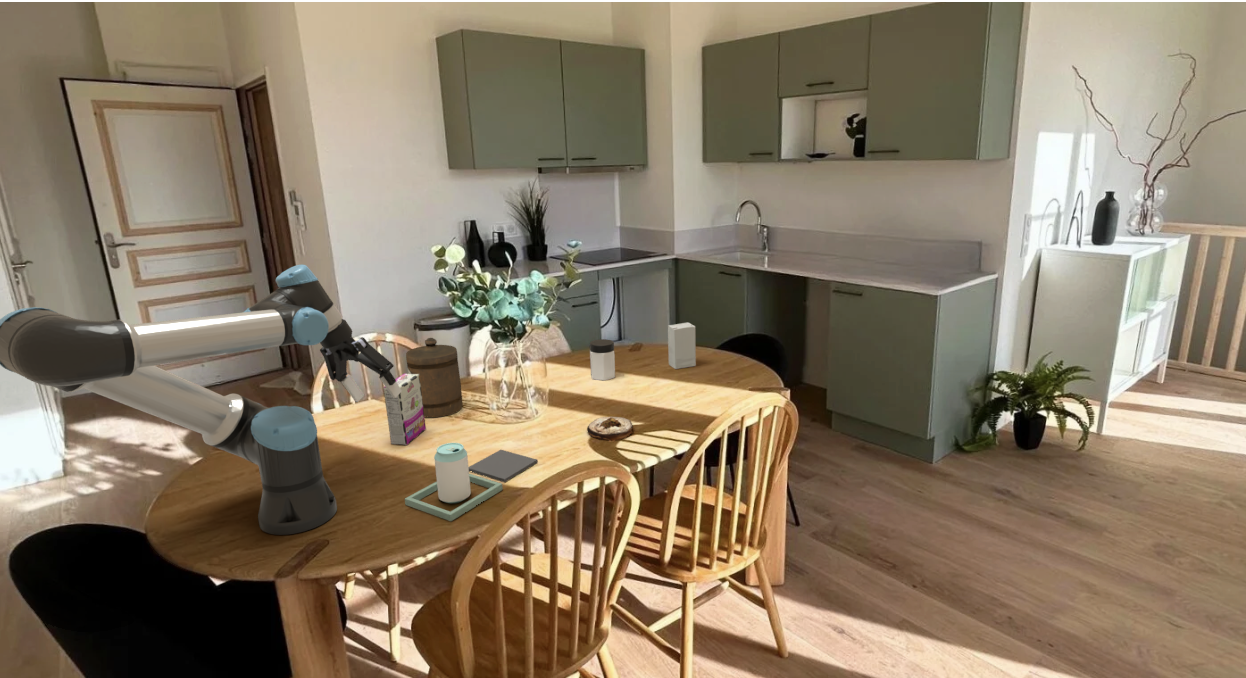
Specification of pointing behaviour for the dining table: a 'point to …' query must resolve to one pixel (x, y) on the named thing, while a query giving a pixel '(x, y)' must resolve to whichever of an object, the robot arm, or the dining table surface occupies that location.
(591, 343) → the jar
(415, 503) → the corral
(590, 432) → the sushi roll
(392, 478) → the dining table surface
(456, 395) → the wooden container
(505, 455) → the coaster
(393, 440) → the candy bar box
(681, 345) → the skincare box
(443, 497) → the can
